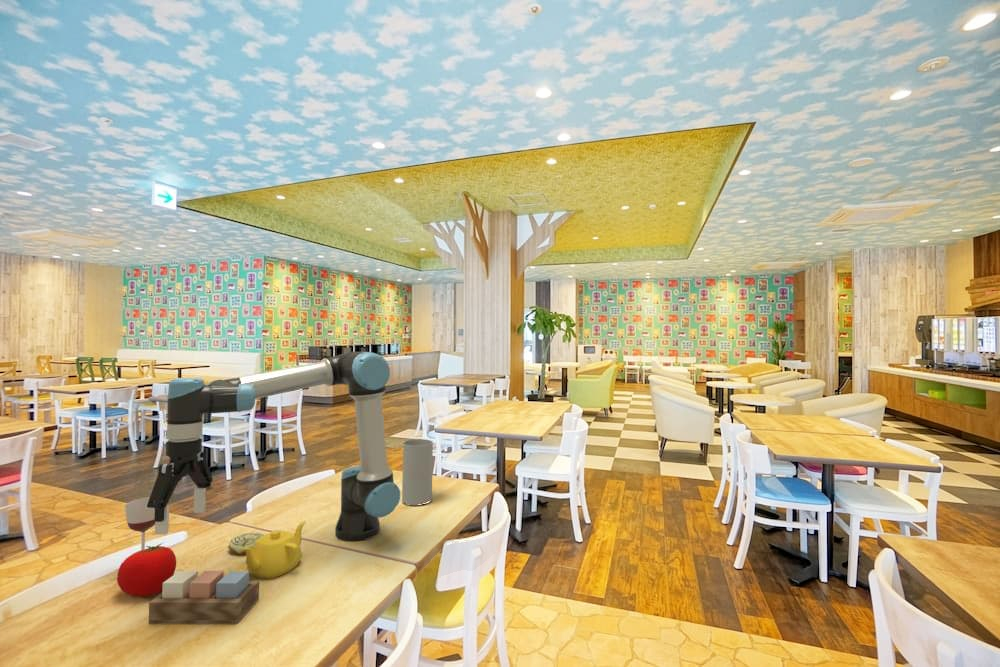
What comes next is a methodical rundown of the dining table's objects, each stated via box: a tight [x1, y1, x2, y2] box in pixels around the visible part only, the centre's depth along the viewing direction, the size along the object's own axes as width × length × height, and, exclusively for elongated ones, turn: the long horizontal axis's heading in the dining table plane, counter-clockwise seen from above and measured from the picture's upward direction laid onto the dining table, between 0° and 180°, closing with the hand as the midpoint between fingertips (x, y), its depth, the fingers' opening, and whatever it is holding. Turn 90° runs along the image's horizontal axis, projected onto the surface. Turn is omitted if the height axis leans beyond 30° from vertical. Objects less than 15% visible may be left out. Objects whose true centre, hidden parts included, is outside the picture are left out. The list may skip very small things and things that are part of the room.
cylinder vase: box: [401, 438, 434, 506], centre depth 192 cm, size 12×12×25 cm
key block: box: [148, 580, 260, 625], centre depth 113 cm, size 21×10×5 cm, turn 91°
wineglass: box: [124, 496, 155, 551], centre depth 132 cm, size 8×9×20 cm
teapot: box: [241, 520, 307, 580], centre depth 134 cm, size 22×16×11 cm
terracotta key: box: [189, 570, 225, 599], centre depth 113 cm, size 5×6×5 cm
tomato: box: [116, 542, 177, 598], centre depth 121 cm, size 12×14×11 cm
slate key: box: [216, 570, 250, 599], centre depth 113 cm, size 5×6×5 cm
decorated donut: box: [228, 532, 265, 556], centre depth 147 cm, size 10×11×4 cm
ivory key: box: [161, 570, 199, 599], centre depth 113 cm, size 5×6×5 cm
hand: (181, 522), depth 115 cm, fingers open, 13 cm apart
